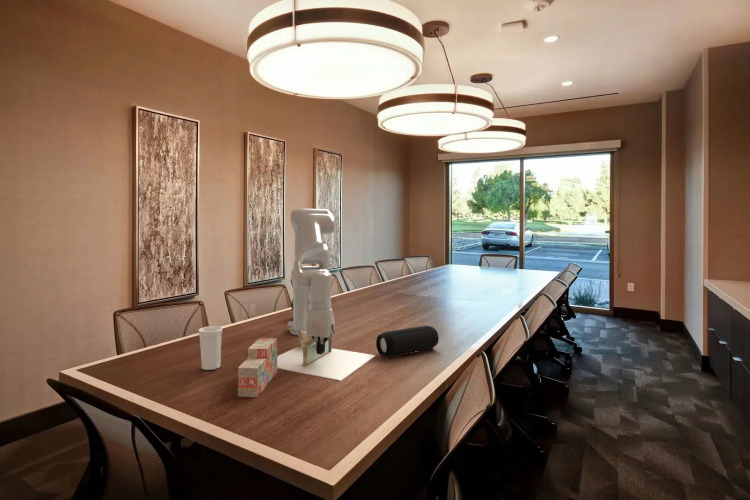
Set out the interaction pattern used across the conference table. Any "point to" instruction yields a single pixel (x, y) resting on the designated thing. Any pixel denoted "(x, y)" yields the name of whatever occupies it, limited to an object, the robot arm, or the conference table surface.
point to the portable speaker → (406, 340)
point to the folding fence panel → (312, 353)
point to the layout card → (324, 363)
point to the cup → (210, 347)
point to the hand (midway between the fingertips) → (320, 353)
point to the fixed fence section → (308, 340)
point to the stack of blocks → (257, 368)
